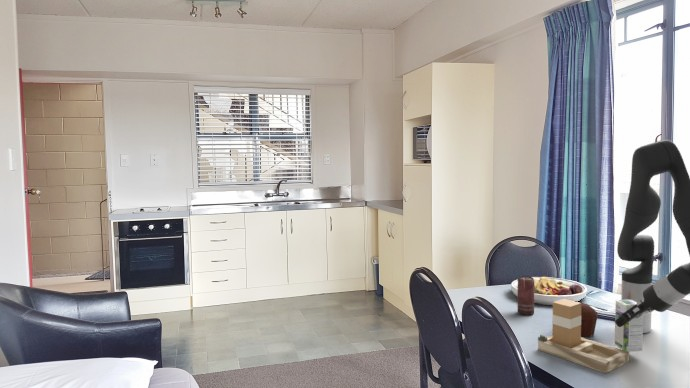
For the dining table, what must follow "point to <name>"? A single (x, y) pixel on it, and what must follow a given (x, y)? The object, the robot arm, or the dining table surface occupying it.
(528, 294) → the can
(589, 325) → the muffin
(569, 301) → the tan cardboard box
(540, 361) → the dining table surface
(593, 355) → the pallet
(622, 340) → the syrup box
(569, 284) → the bowl
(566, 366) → the dining table surface
